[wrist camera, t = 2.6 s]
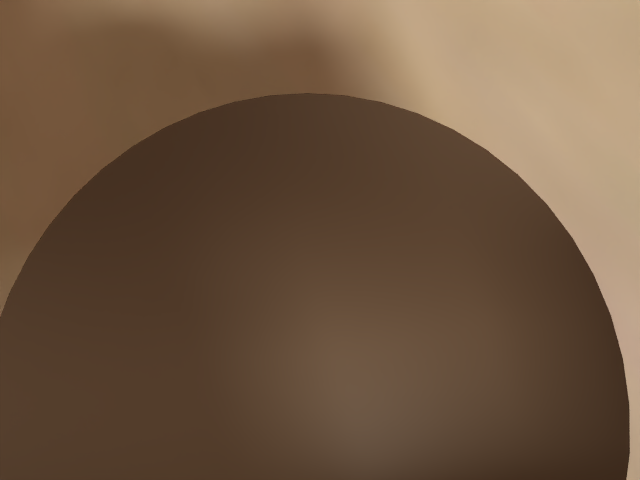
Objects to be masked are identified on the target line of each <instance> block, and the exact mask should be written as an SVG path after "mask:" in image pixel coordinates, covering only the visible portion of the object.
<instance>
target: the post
mask: <svg viewBox="0 0 640 480" xmlns="http://www.w3.org/2000/svg"><path fill="white" fill-rule="evenodd" d="M629 454H630V436H629V400H628V393H627V385H626V378H625V371H624V364H623V358H622V354H621V351H620V347H619V344H618V340H617V336H616V333H615V329H614V325H613V322H612V318H611V315H610V313H609V310H608V308H607V305H606V303H605V301H604V298H603V296H602V293H601V291H600V289H599V286H598V284H597V281H596V279H595V277H594V275H593V273H592V271H591V269H590V268H589V266H588V264H587V262H586V261H585V259H584V257H583V255H582V254H581V252H580V250H579V249H578V247H577V245H576V243H575V242H574V240H573V238H572V237H571V235H570V234H569V233H568V231H567V230H566V229H565V228H564V226H563V225H562V224H561V222H560V221H559V220H558V218H557V217H556V216H555V214H554V213H553V212H552V210H551V209H550V208H549V206H548V205H547V204H546V203H545V202H544V201H543V200H542V199H541V198H540V197H539V196H538V195H537V194H536V193H535V192H534V191H533V190H532V189H531V188H530V187H529V186H528V185H527V184H526V182H525V181H524V180H523V179H522V178H521V177H520V176H519V175H518V174H516V173H515V172H514V171H513V170H511V169H510V168H509V167H507V166H506V165H505V164H504V163H502V162H501V161H500V160H499V159H497V158H496V157H495V156H494V155H492V154H491V153H490V152H489V151H487V150H486V149H484V148H483V147H481V146H479V145H478V144H476V143H474V142H473V141H471V140H470V139H468V138H466V137H465V136H463V135H461V134H460V133H458V132H456V131H455V130H453V129H451V128H449V127H446V126H444V125H442V124H440V123H438V122H435V121H433V120H431V119H429V118H427V117H424V116H422V115H420V114H418V113H414V112H411V111H408V110H405V109H402V108H398V107H395V106H392V105H389V104H385V103H382V102H377V101H372V100H366V99H361V98H355V97H350V96H344V95H327V94H310V93H304V94H288V95H272V96H265V97H260V98H254V99H249V100H243V101H238V102H233V103H230V104H226V105H223V106H220V107H216V108H213V109H210V110H207V111H203V112H200V113H197V114H195V115H193V116H190V117H188V118H186V119H184V120H181V121H179V122H177V123H174V124H172V125H170V126H168V127H165V128H163V129H162V130H160V131H158V132H157V133H155V134H153V135H151V136H150V137H148V138H146V139H145V140H143V141H141V142H139V143H138V144H136V145H134V146H133V147H131V148H130V149H129V150H127V151H126V152H125V153H123V154H122V155H121V156H119V157H118V158H117V159H115V160H114V161H113V162H111V163H110V164H108V165H107V166H106V167H104V168H103V169H102V170H101V171H100V172H99V173H98V174H97V175H96V176H94V177H93V178H92V179H91V180H90V181H89V182H88V183H87V184H86V185H85V186H84V187H83V188H82V189H81V190H80V191H79V192H78V193H76V194H75V195H74V197H73V198H72V199H71V200H70V201H69V202H68V204H67V205H66V206H65V207H64V208H63V210H62V211H61V212H60V213H59V214H58V215H57V217H56V218H55V219H54V220H53V221H52V223H51V224H50V225H49V226H48V228H47V229H46V231H45V232H44V234H43V235H42V237H41V238H40V240H39V241H38V243H37V244H36V246H35V247H34V249H33V250H32V252H31V253H30V255H29V256H28V258H27V260H26V262H25V264H24V266H23V268H22V270H21V272H20V274H19V276H18V278H17V280H16V281H15V283H14V285H13V287H12V289H11V291H10V293H9V296H8V299H7V301H6V304H5V307H4V309H3V312H2V314H1V317H0V480H626V477H627V470H628V462H629Z"/></svg>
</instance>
